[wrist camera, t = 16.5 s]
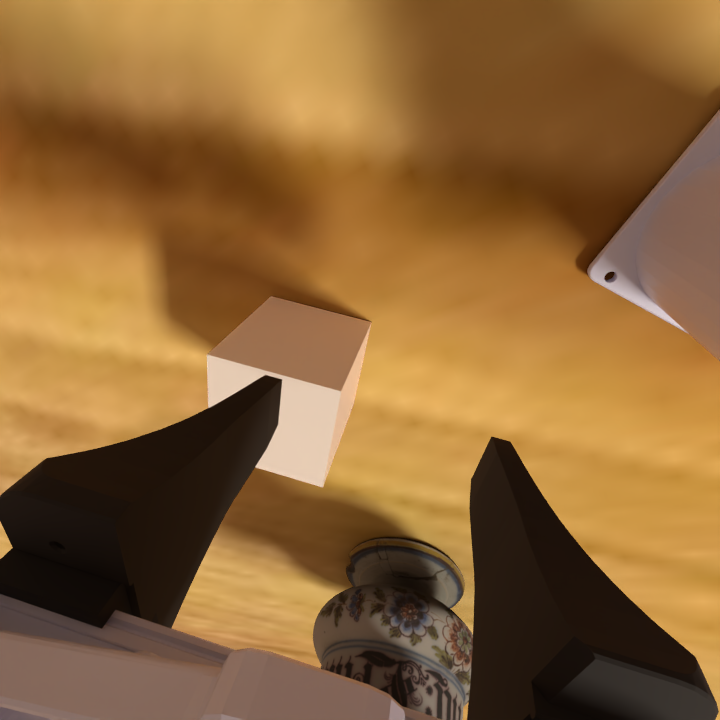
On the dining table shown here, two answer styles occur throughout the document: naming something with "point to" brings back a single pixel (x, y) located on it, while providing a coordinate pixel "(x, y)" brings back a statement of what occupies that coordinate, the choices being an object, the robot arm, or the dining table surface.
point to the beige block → (295, 379)
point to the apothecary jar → (400, 627)
